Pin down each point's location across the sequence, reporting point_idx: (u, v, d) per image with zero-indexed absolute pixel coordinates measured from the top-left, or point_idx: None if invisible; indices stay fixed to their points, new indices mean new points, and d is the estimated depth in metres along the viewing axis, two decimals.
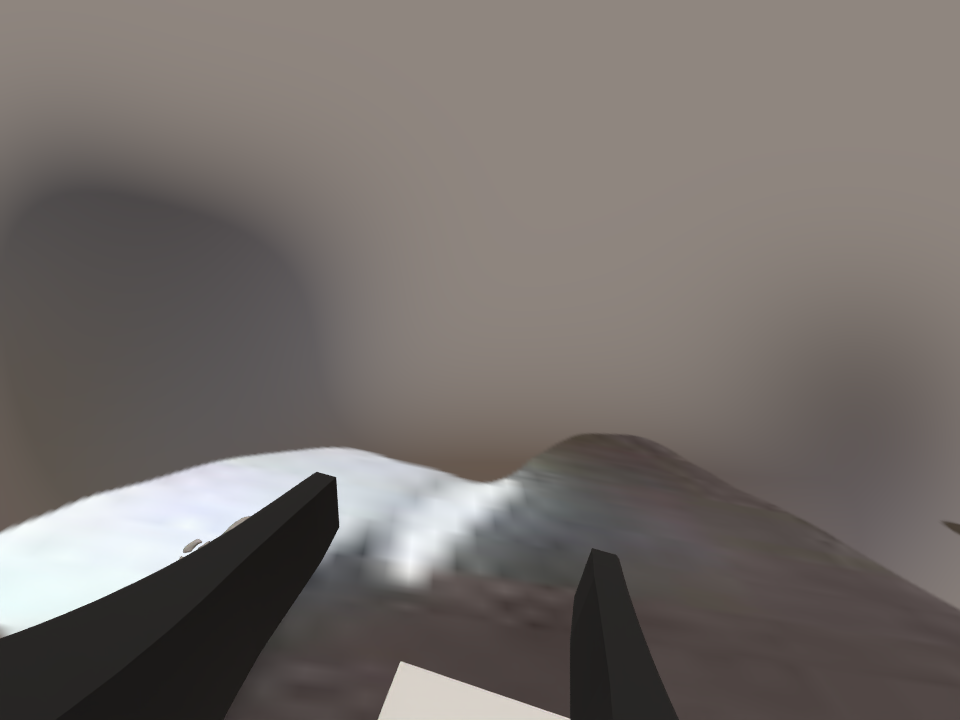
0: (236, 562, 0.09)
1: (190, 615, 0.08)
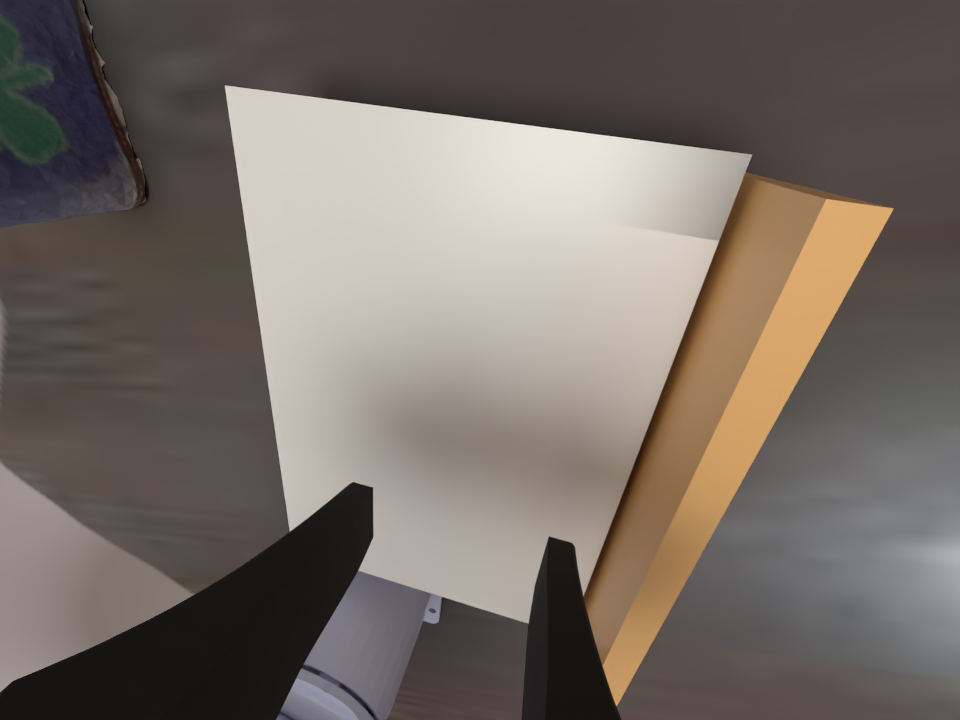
0: (285, 578, 0.09)
1: (244, 634, 0.08)
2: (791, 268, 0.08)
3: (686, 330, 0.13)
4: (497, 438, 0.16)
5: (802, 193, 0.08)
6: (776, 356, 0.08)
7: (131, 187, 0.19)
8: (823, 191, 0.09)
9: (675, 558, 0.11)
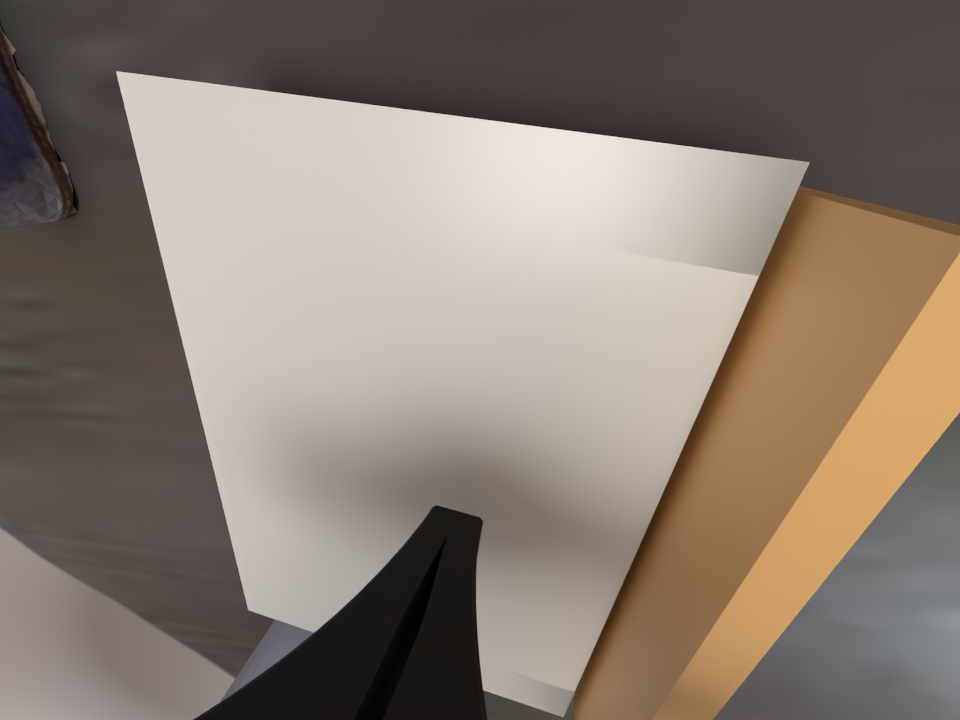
0: (398, 614, 0.08)
1: (372, 679, 0.07)
2: (898, 342, 0.05)
3: None
4: (475, 503, 0.13)
5: (909, 224, 0.05)
6: (862, 463, 0.06)
7: (53, 195, 0.17)
8: (921, 216, 0.06)
9: (699, 692, 0.09)
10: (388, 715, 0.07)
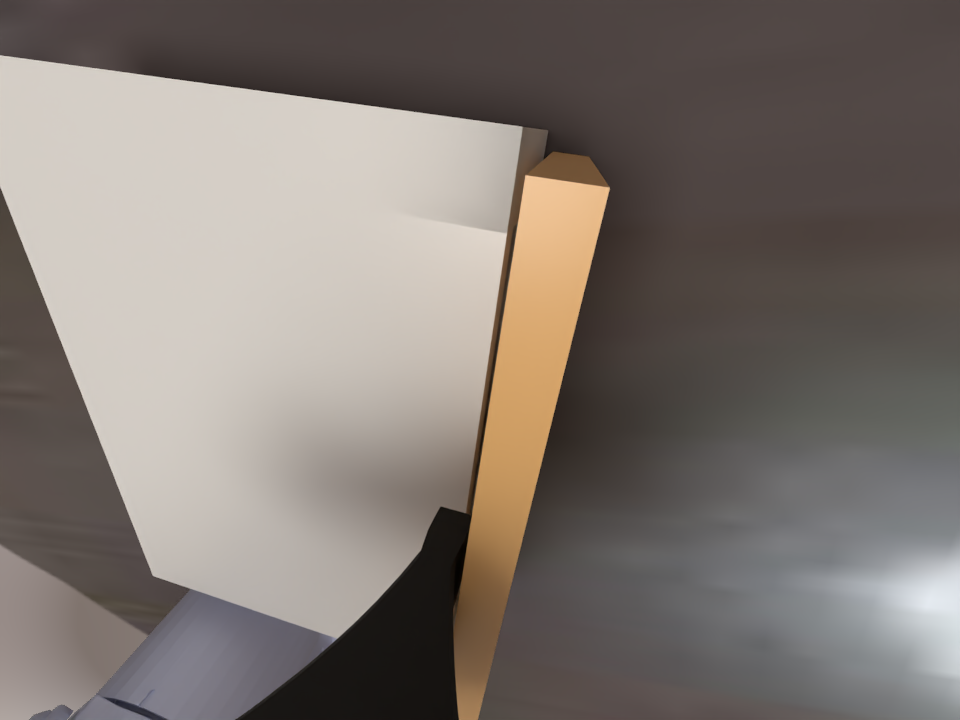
0: (419, 621, 0.08)
1: None
2: (510, 271, 0.06)
3: None
4: (323, 460, 0.14)
5: None
6: (522, 385, 0.06)
7: None
8: (596, 171, 0.07)
9: (477, 620, 0.09)
10: (358, 704, 0.07)
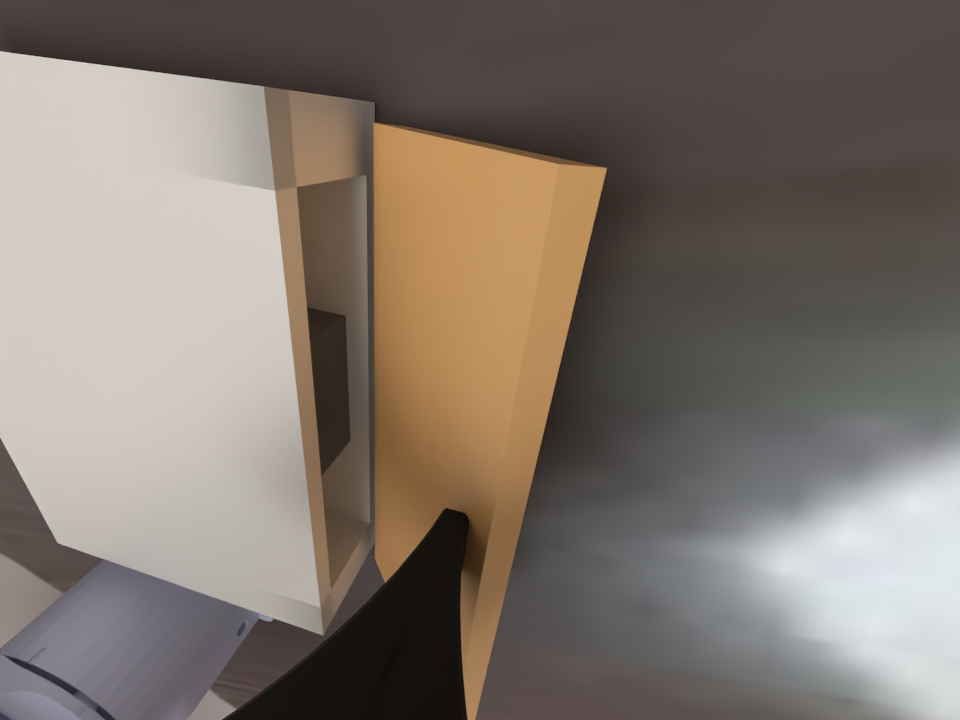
0: (412, 619, 0.08)
1: None
2: (542, 245, 0.07)
3: (418, 314, 0.12)
4: (175, 420, 0.14)
5: (521, 156, 0.07)
6: (545, 335, 0.08)
7: None
8: (517, 149, 0.09)
9: (501, 549, 0.11)
10: (367, 708, 0.07)
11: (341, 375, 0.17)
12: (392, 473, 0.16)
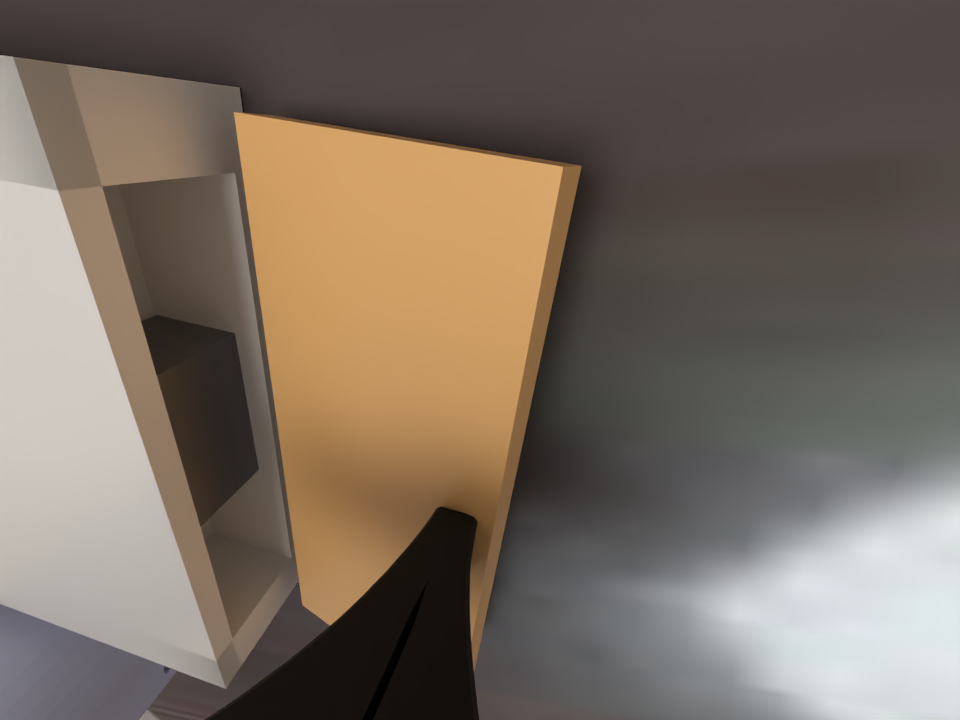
0: (403, 616, 0.08)
1: (378, 681, 0.07)
2: (547, 241, 0.07)
3: (354, 329, 0.11)
4: (21, 457, 0.12)
5: (510, 159, 0.07)
6: (539, 322, 0.09)
7: None
8: None
9: (499, 527, 0.12)
10: (379, 712, 0.07)
11: (234, 399, 0.15)
12: (325, 505, 0.15)
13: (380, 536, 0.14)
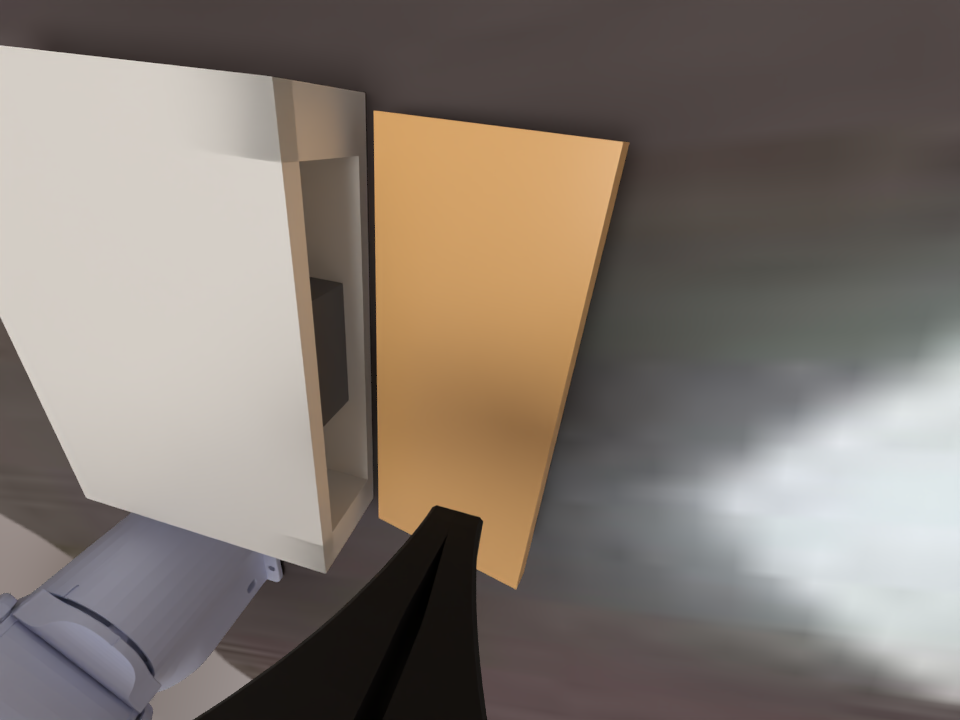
0: (398, 614, 0.08)
1: (372, 679, 0.07)
2: (610, 190, 0.12)
3: (457, 266, 0.15)
4: (195, 372, 0.16)
5: (587, 138, 0.11)
6: (600, 249, 0.13)
7: None
8: None
9: (560, 412, 0.16)
10: (388, 715, 0.07)
11: (339, 337, 0.19)
12: (413, 418, 0.19)
13: (462, 436, 0.18)
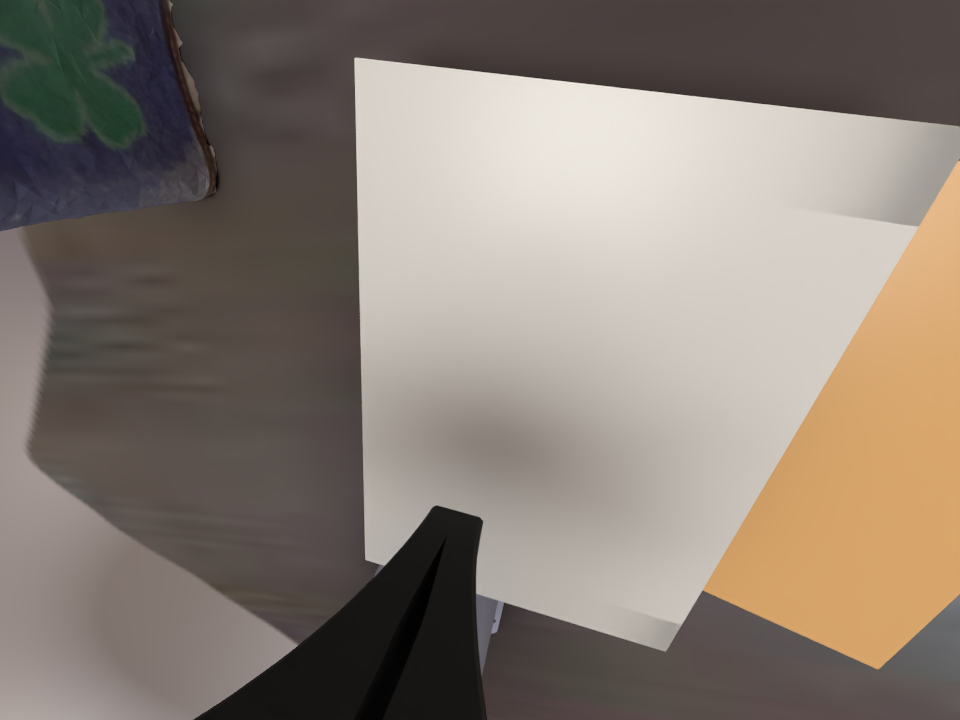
0: (398, 614, 0.08)
1: (372, 679, 0.07)
2: None
3: None
4: (617, 443, 0.14)
5: None
6: None
7: (204, 176, 0.18)
8: None
9: None
10: (388, 715, 0.07)
11: None
12: (800, 486, 0.17)
13: (874, 509, 0.16)
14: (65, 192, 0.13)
